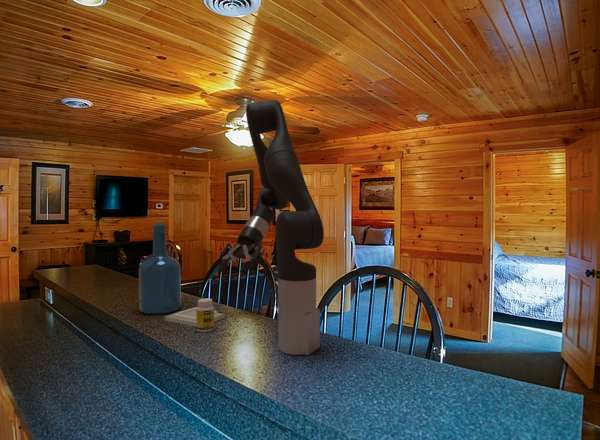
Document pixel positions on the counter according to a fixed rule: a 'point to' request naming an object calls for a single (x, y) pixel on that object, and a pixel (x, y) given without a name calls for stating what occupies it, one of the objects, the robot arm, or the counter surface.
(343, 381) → the counter surface
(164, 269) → the wine bottle
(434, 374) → the counter surface
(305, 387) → the counter surface
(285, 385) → the counter surface
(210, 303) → the supplement bottle
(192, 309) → the grey-green flat tray
